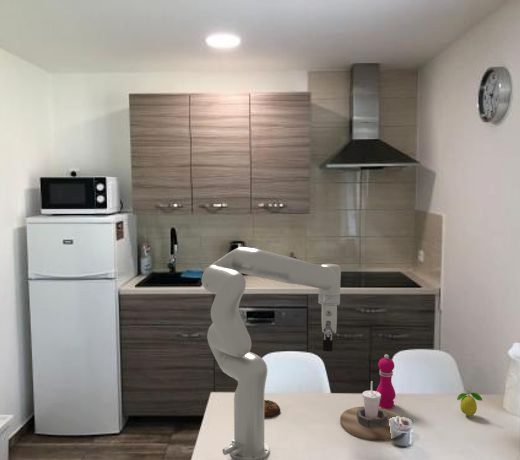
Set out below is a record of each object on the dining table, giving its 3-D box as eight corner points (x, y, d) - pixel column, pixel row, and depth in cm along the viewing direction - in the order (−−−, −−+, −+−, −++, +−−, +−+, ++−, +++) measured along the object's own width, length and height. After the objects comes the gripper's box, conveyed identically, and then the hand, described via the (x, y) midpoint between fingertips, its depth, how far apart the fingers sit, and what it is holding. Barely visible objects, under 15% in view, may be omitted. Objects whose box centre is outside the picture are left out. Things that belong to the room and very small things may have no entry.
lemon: (482, 418, 175) (483, 391, 174) (469, 421, 173) (470, 394, 172) (467, 410, 181) (468, 384, 181) (455, 413, 179) (456, 387, 178)
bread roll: (278, 419, 175) (276, 405, 175) (248, 421, 177) (247, 407, 177) (282, 406, 186) (280, 394, 186) (254, 408, 188) (252, 396, 188)
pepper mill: (375, 408, 184) (376, 356, 182) (376, 400, 191) (377, 350, 189) (395, 410, 182) (396, 358, 180) (395, 402, 189) (396, 352, 187)
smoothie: (379, 416, 173) (379, 378, 172) (382, 425, 167) (382, 385, 166) (361, 416, 174) (361, 378, 173) (363, 424, 168) (363, 385, 167)
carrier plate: (381, 447, 155) (382, 435, 155) (327, 424, 171) (327, 413, 171) (416, 424, 171) (416, 413, 170) (363, 405, 186) (363, 395, 186)
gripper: (340, 304, 162) (338, 355, 163) (339, 295, 179) (337, 340, 180) (317, 303, 163) (316, 353, 164) (318, 294, 180) (317, 339, 181)
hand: (327, 346), depth 172 cm, fingers open, 9 cm apart
